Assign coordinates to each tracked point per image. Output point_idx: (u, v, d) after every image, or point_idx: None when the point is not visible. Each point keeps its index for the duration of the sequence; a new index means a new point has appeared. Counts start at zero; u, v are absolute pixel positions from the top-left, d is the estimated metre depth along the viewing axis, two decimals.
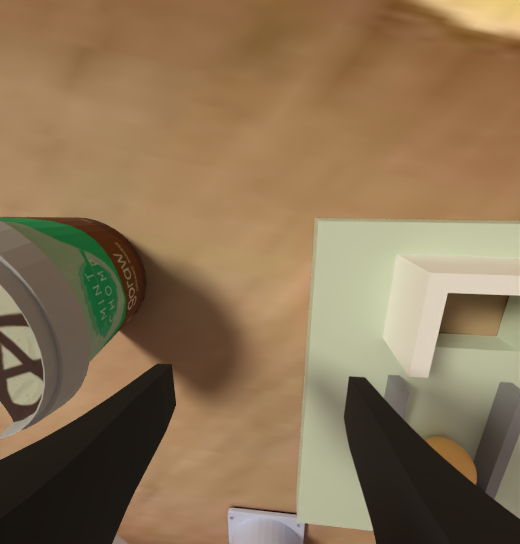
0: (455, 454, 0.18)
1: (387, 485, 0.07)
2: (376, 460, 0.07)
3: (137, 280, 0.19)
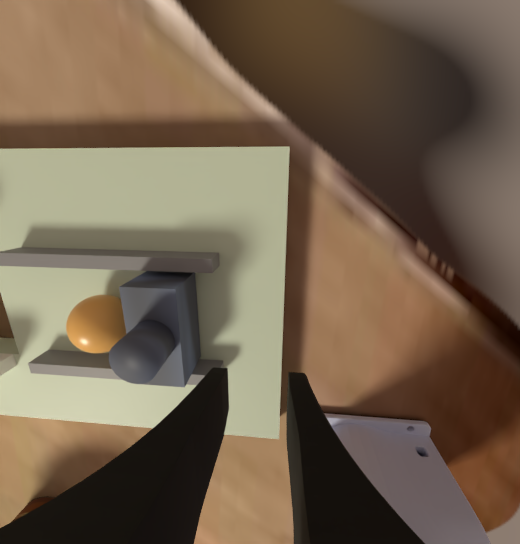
0: None
1: (297, 476, 0.07)
2: (294, 452, 0.08)
3: None
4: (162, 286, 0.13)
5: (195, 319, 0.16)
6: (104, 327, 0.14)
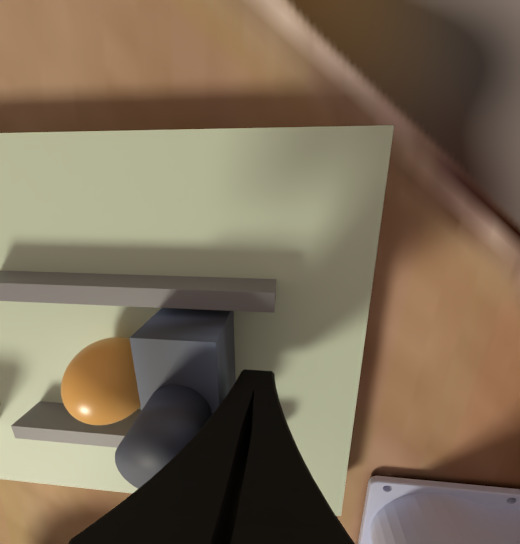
0: None
1: None
2: None
3: None
4: (194, 336, 0.09)
5: (232, 370, 0.12)
6: (116, 392, 0.10)
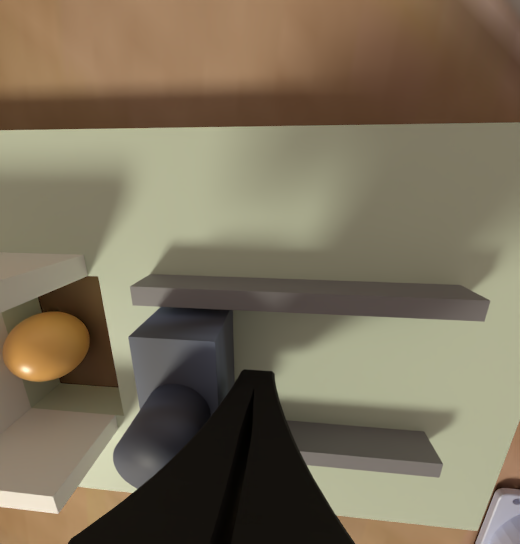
0: None
1: None
2: None
3: None
4: (193, 335, 0.09)
5: (231, 369, 0.12)
6: (8, 356, 0.12)
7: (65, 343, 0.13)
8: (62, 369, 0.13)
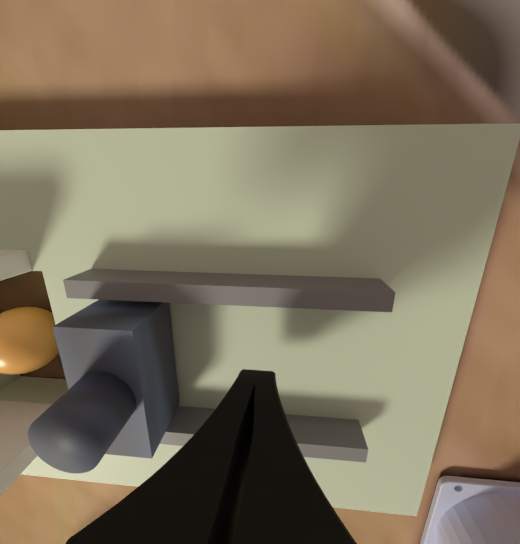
0: None
1: None
2: None
3: None
4: (114, 325, 0.09)
5: (170, 360, 0.12)
6: (9, 348, 0.12)
7: None
8: (58, 350, 0.14)
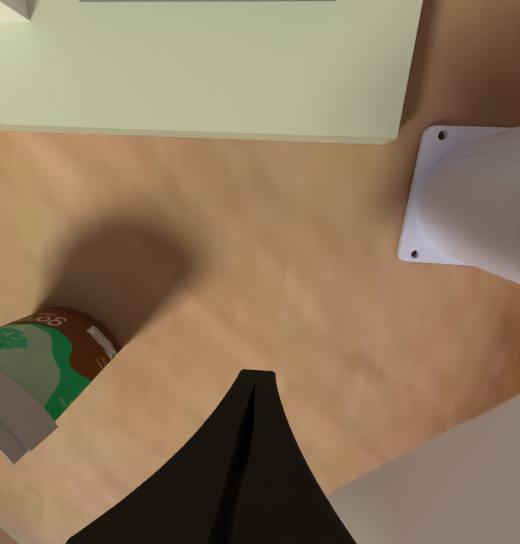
0: None
1: None
2: None
3: (48, 313, 0.20)
4: None
5: None
6: None
7: None
8: None
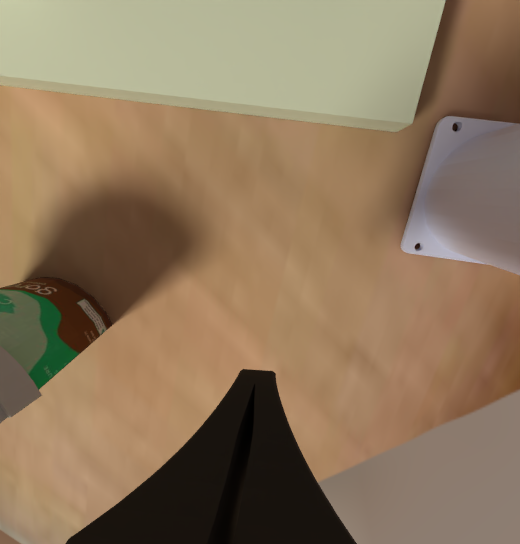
0: None
1: None
2: None
3: (38, 282, 0.19)
4: None
5: None
6: None
7: None
8: None
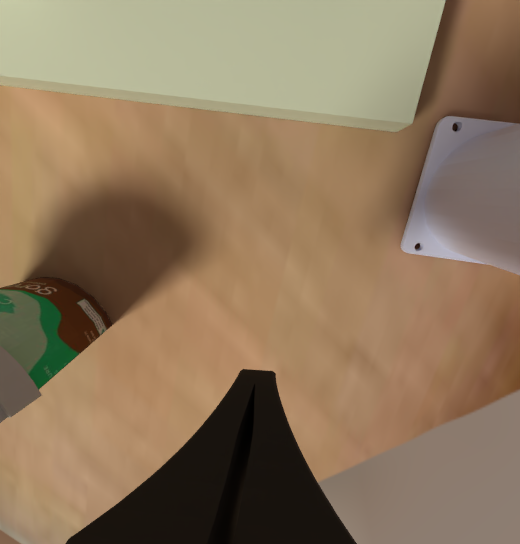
0: None
1: None
2: None
3: (38, 282, 0.19)
4: None
5: None
6: None
7: None
8: None
